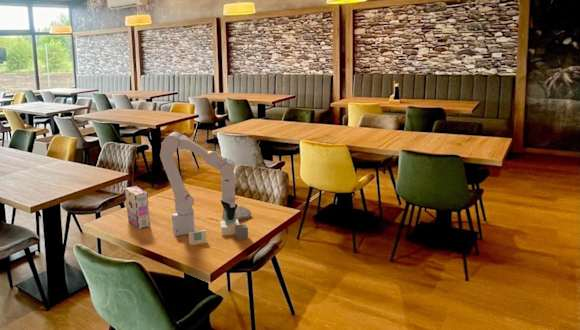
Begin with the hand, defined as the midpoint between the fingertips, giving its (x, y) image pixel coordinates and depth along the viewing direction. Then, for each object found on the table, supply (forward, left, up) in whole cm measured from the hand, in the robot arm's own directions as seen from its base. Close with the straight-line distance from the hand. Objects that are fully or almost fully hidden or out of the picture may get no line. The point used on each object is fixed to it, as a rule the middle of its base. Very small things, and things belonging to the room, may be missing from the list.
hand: (229, 217), depth 206 cm
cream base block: (0, 0, -7) cm, 7 cm away
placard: (-15, -7, -6) cm, 18 cm away
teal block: (0, 0, -2) cm, 2 cm away
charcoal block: (+3, -9, -6) cm, 11 cm away
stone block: (+8, +15, -7) cm, 18 cm away
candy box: (-37, +24, -7) cm, 45 cm away
